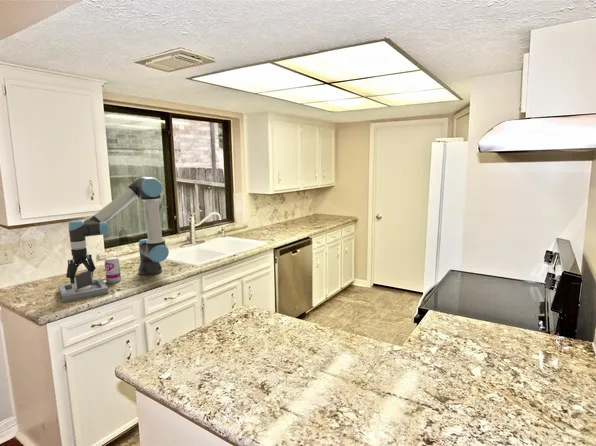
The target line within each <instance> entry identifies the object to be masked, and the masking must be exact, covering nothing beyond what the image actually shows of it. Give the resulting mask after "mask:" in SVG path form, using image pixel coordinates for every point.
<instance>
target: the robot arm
mask: <svg viewBox="0 0 596 446" xmlns="http://www.w3.org/2000/svg"><path fill="white" fill-rule="evenodd" d="M162 191H163V185H162V183H161V182H160V180H159V179H157V178H155V177H153V176H151V177H150V176H149V177H148V176H141V177H139V178H137V179H136V180H134V181H132V183H131V184H130V185H128V186H127V187H126V190H124V191H123V192H122V193H121V194H119V195H118V196H116V198H115V199H113V200H112V201H110V202H109V203H108V204H106V206H104V207H103V208H101V209H99V211H97V212H96V213H95V214H94V215H93V216H91V217H90V218H87V219H85V220H81V219H80V220H78V219H77V220H71V221H69V222H68V234H69V243H70V249H71V251H70V252H71V256H72V258H71V259H67V269H66V274H65V277H66V278H69V280H70V281H69V282H70V283H71V284H72V289H77V283H76V278H75V274H76V273H77V271H78V268H79V267H80V265H82V264H83V265H84V267H85V268H86V271H91V277H92V283H93V279H94V272H95V270H96V269H97V268H96V266H95V263H94V261H93V257H92V254H89V253H88V251H87V250H88V249H87V242H86V241H87V240H86V239H87V238H86V237H95V236H102V235H107V234H108V233H109V225H108V223H107V222H108V221H110V220H111V219H112V218H114V216H116V215H118V214H119V212H120V211H122V210H123V209H125V208H126V207H127V206H128V205H129V204H131V203H132V202H134V201H135V200H138V199H140V200H141V201H142V202H143V207H144V214H145V215H144V216H145V226H146V233H147V234H146V235H147V238H145V239H140V240H138V249H139V260H140V262H139V265H138V269H137V270H138V271H137V272H138V275H140V276H151V275H156V274H160V273H162V272H163V266H162V264H161V263H162V262H163V261H165V260H166V259H167V258H168V257H169V254H170V253H169V252H170V251H169V248H168V247H167V246H166V240H165V239H164V237H163V234H162V233H163V231H162V223H161V222H162V221H161V215H160V213H161V211H160V205H159V201H160V199H161V198H162V197H161V193H162Z"/></svg>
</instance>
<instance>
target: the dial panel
mask: <svg viewBox="0 0 596 446" xmlns="http://www.w3.org/2000/svg"><path fill="white" fill-rule="evenodd" d="M58 291H59V292H58V293H59V294H60V297H61V300H62V303H64V304H65V303H68V302H73V301H78V300H83V299H88V297H89V298H94V297H98V295H99V296H103V295H102V294H104V295H107V294H106V293H108V294H109V287H108V286H107V285H106V283H105V281H103V279H102V278H100V277H99V278H98V277H97V278H93V283H92V284H91V290H86V291H81V292H75V289H72V284H71V282H70V283H66V284H60V285H58ZM93 296H94V297H93Z"/></svg>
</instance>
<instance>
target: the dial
mask: <svg viewBox="0 0 596 446" xmlns="http://www.w3.org/2000/svg"><path fill="white" fill-rule="evenodd" d="M75 278H76V283H77V289H75V292H81V291H86V290H91V284H92V277H91V271H88V270H85V271H82V272H79V273H78V272H76V274H75Z"/></svg>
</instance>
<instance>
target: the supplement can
mask: <svg viewBox="0 0 596 446" xmlns="http://www.w3.org/2000/svg"><path fill="white" fill-rule="evenodd" d="M104 272H105V281H106V283H108V284H116V283H119V282H120V281H121V280H122V276H121V263H120V259H119V258H118V256H110V257H109V256H108V257H106V258H105V259H104Z"/></svg>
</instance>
